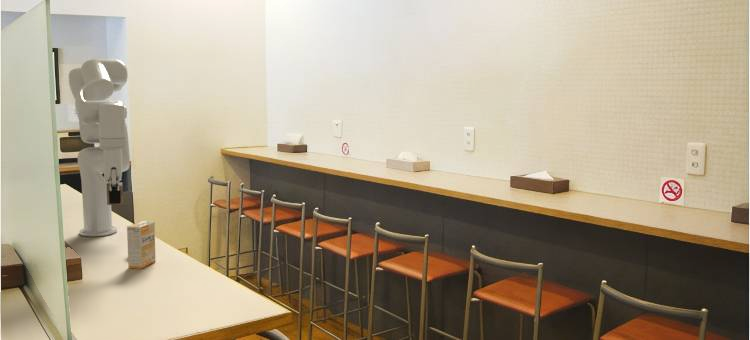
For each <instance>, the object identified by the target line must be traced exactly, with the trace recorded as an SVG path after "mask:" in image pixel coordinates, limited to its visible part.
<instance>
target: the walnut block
mask: <svg viewBox="0 0 750 340" xmlns="http://www.w3.org/2000/svg"><path fill="white" fill-rule="evenodd" d="M123 188H124V187H123V182H119V190H120V196H121V203H118V204H110V203H109V191H110V184H109V183H107V205H111V206H113V205H114V206H115V205H124V190H123ZM117 189H118V188H117Z"/></svg>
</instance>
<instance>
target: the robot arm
mask: <svg viewBox="0 0 750 340" xmlns="http://www.w3.org/2000/svg"><path fill="white" fill-rule="evenodd" d="M128 78H129V77H128V69H127V66H126V64H125V63H124V62H123V61H121V60H119V59H107V58H106V59H103V58H102V59H100V58H96V59H95V58H93V59H89V60H86V61H85V62H83V63H82V65H81V67H76V68H73V69H71V70H70V71H69V73H68V83H69V84H68V85H69V87H70V91H71V93H72V96H73V99H74V105H75V110H76V114H77V115H76V116H77V118H78V125H79V134H80V139H81V141H83V143H86V144H99V146H91V147H86V148H83V149H81V150H80V151H79V152H78V154H77V165H78V168H79V173H80V179H81V182H80V183H81V193H82V194H81V195H82V214H83V228H82V229H80V230H79V235H81V236H83V237H103V236H104V237H105V236H110V235H113V234H115V233H117V231H118V229H117V227H116V226H113V218H112V217H113V215H112V214H113V213H112V205H107V183H109V184H110V191H109V203H110V204H118V203H121V196H120V190H119V183H120V181H122V176H123V172H126V171H128V170H129V169H130V164H131V155H130V154H131V153H130V143H129V133H128V132H129V131H128V126H127V123H126V119H127V117H128V116H127V114H128V110H127V106H126V105H125V103H123V101H120V100H116V99H115V100H113V99H112V100H108V99H109V98H111V97H112V95H113V93H114V92H120V90H122V89H123V87H124V86H125V85H126V83H127V81H128ZM117 188H118V189H117ZM118 205H119V204H118Z"/></svg>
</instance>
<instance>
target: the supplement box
mask: <svg viewBox="0 0 750 340" xmlns="http://www.w3.org/2000/svg"><path fill="white" fill-rule="evenodd" d="M155 224H156V222H155V221H152V220H151V221H150V220H147V221H146V220H141V221H138V222H136V223H134V224H131V225H128V226H126V233H127V234H126V235H127V236H126V237H127V262H128V265H127V266H128V268H129V269H140V270H141V269H144V268H145V267H148V266H149V265H151V264H153V263H155V262H156V236H155V235H156V231H155V230H156V229H155V228H156V227H155Z"/></svg>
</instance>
